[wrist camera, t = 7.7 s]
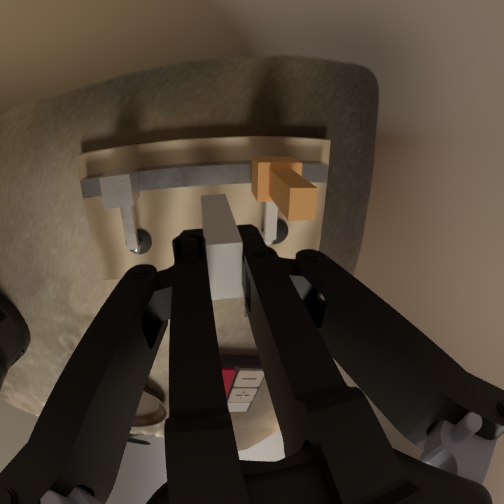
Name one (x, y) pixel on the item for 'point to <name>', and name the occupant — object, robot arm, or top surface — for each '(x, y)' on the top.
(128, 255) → the hole plate
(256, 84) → the top surface
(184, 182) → the rail
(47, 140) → the top surface
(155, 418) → the plant saucer
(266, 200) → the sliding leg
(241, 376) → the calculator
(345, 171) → the top surface
